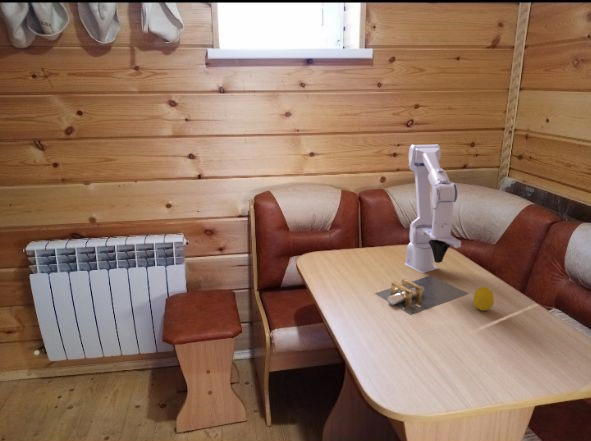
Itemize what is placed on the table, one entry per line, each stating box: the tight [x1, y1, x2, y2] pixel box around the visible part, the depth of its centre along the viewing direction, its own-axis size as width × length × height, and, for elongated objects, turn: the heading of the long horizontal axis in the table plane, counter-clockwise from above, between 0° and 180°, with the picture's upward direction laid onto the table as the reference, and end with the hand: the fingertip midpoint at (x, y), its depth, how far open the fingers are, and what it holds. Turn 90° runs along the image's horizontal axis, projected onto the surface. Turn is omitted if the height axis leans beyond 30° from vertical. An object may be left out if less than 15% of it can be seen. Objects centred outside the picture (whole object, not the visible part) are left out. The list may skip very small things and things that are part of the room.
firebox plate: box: [374, 275, 470, 316], centre depth 150 cm, size 16×25×5 cm, turn 121°
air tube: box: [387, 286, 425, 306], centre depth 146 cm, size 13×3×3 cm, turn 121°
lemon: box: [473, 286, 495, 312], centre depth 139 cm, size 6×6×8 cm
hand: (438, 261), depth 152 cm, fingers closed
